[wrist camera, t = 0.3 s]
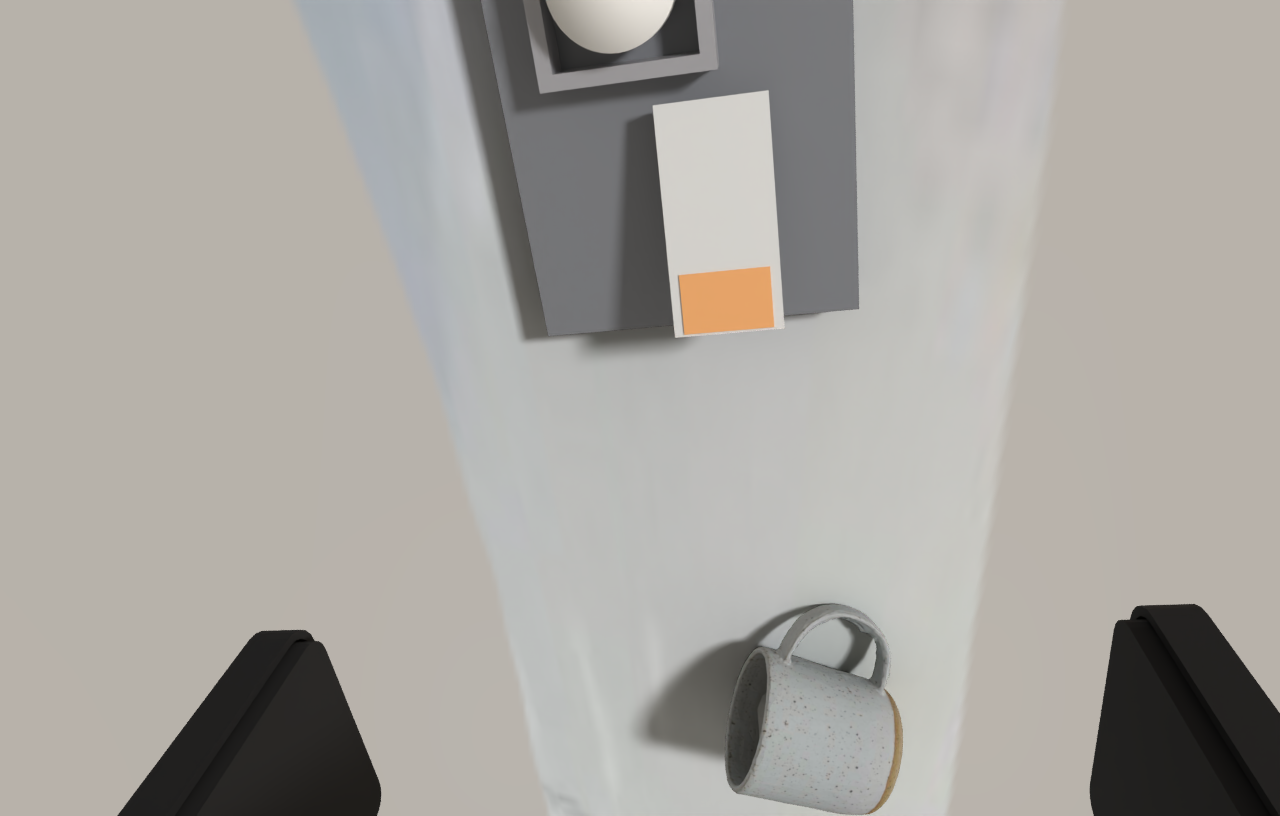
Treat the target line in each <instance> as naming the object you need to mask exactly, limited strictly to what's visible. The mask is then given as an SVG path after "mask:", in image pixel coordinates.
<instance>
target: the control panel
mask: <svg viewBox="0 0 1280 816" xmlns="http://www.w3.org/2000/svg"><path fill="white" fill-rule="evenodd" d="M481 5H482V10H483V14H484V19H485V24H486V29H487V34H488V39H489V44H490V49H491V54H492V59H493V64H494V69H495V74H496V79H497V84H498V89H499V94H500V99H501V104H502V109H503V114H504V118H505V123H506V128H507V133H508V138H509V143H510V148H511V153H512V158H513V163H514V168H515V173H516V178H517V183H518V188H519V193H520V198H521V203H522V208H523V213H524V218H525V223H526V227H527V232H528V237H529V242H530V247H531V252H532V257H533V262H534V267H535V272H536V277H537V282H538V287H539V292H540V297H541V302H542V307H543V312H544V317H545V322H546V327H547V331H548V336H556V335H567V334H579V333H590V332H601V331H613V330H624V329H636V328H647V327H659V326H670V325H674V321H673V311H672V301H671V290H670V280H669V270H668V260H667V249H666V239H665V229H664V218H663V208H662V198H661V188H660V177H659V167H658V157H657V147H656V136H655V126H654V116H653V105H660V104H667V103H675V102H683V101H690V100H698V99H705V98H713V97H721V96H728V95H736V94H743V93H751V92H759V91H766V90H769V105H770V120H771V134H772V149H773V164H774V179H775V194H776V208H777V223H778V238H779V253H780V268H781V282H782V297H783V312H784V316H785V315H796V314H807V313H819V312H830V311H842V310H853V309H859V283H858V232H857V181H856V129H855V78H854V27H853V0H675V4H674V7H673V9H672V11H671V14H670V16H669V18H668V19H667V21H666V22H665V24H664V25H663V26H662V28H661V29H660V30H659V31H658V32H657V33H656V34H655V35H654V36H653V37H651V38H650V39H649V40H647V41H646V42H644V43H643V44H641V45H640V46H638V47H636V48H634V49H631V50H629V51H625V52H621V53H612V54H607V53H599V52H594V51H591V50H589V49H586V48H584V47H582V46H580V45H578V44H577V43H575V42H574V41H572V40H571V39H570V38H569V37H568V36H567V35H566V34H565V33H564V32H563V31H562V30H561V29H560V28H559V26H558V25H557V23H556V22H555V20H554V19H553V17H552V15H551V13H550V11H549V8H548V6H547V3H546V0H481Z"/></svg>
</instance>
